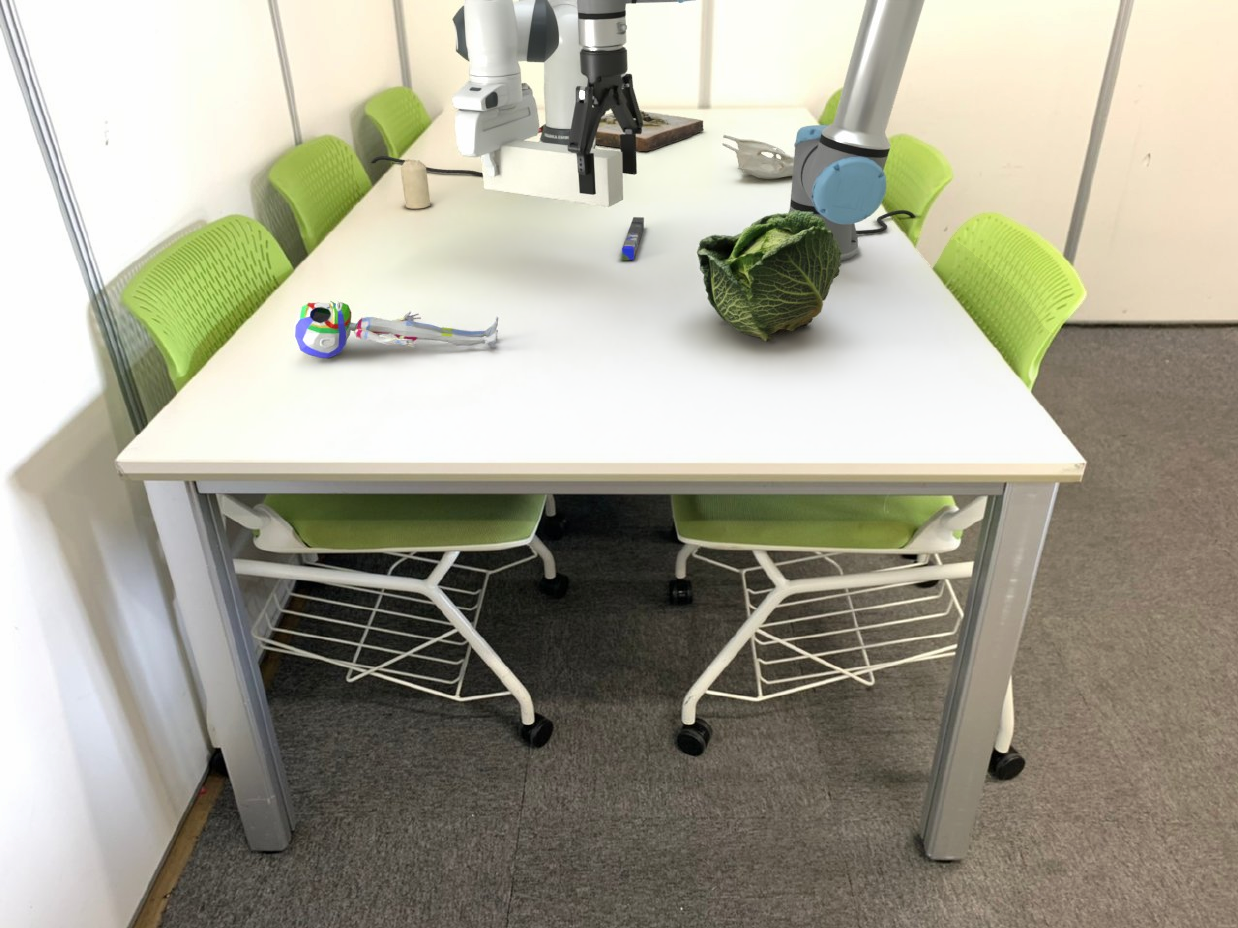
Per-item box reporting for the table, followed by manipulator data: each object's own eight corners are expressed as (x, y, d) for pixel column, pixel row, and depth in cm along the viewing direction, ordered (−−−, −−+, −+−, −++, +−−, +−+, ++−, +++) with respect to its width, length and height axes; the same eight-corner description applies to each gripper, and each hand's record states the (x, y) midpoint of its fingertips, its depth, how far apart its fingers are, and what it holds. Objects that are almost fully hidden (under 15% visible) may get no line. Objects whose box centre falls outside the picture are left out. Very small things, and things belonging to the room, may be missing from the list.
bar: (484, 188, 164) (479, 142, 159) (500, 182, 167) (496, 137, 163) (608, 207, 152) (607, 158, 148) (623, 199, 156) (622, 151, 152)
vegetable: (729, 354, 150) (671, 251, 142) (822, 290, 151) (770, 184, 144) (780, 378, 132) (718, 261, 124) (885, 305, 133) (830, 185, 125)
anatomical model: (724, 131, 223) (826, 130, 219) (723, 169, 228) (823, 168, 224) (720, 146, 210) (828, 145, 207) (720, 185, 215) (825, 185, 212)
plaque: (647, 125, 237) (559, 112, 252) (647, 153, 241) (560, 139, 256) (706, 107, 258) (622, 97, 273) (705, 133, 262) (622, 121, 277)
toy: (498, 328, 132) (286, 311, 128) (494, 379, 137) (289, 364, 132) (499, 302, 141) (300, 285, 136) (495, 351, 145) (303, 336, 140)
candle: (435, 203, 204) (429, 158, 199) (422, 209, 200) (416, 164, 194) (413, 201, 206) (407, 156, 200) (401, 207, 201) (394, 162, 196)
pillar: (643, 217, 185) (633, 249, 169) (643, 227, 186) (633, 260, 170) (633, 217, 186) (621, 249, 169) (633, 227, 187) (622, 260, 170)
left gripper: (516, 79, 164) (522, 157, 172) (445, 99, 149) (454, 183, 157) (545, 82, 162) (549, 160, 169) (475, 102, 147) (483, 187, 154)
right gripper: (580, 60, 131) (588, 205, 142) (661, 37, 149) (663, 167, 160) (538, 58, 134) (549, 200, 146) (622, 36, 152) (626, 163, 163)
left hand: (503, 172), depth 163 cm, fingers closed on bar, 5 cm apart
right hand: (609, 183), depth 153 cm, fingers open, 13 cm apart
